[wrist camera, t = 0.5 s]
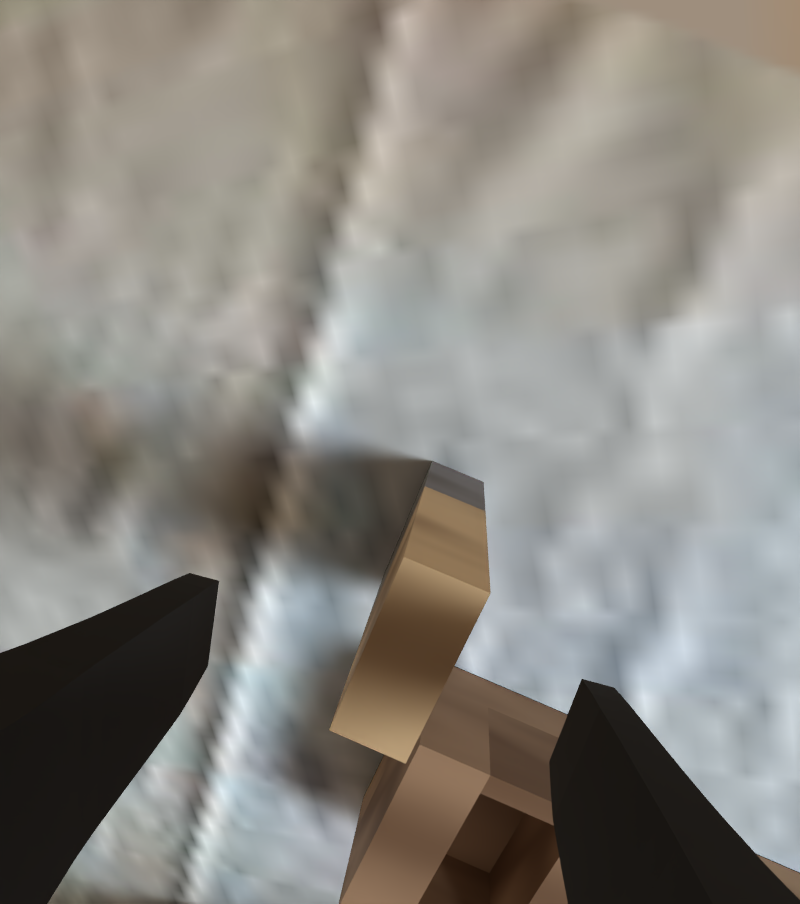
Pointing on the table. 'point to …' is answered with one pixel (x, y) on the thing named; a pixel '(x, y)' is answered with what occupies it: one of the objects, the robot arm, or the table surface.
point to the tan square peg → (419, 616)
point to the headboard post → (468, 808)
